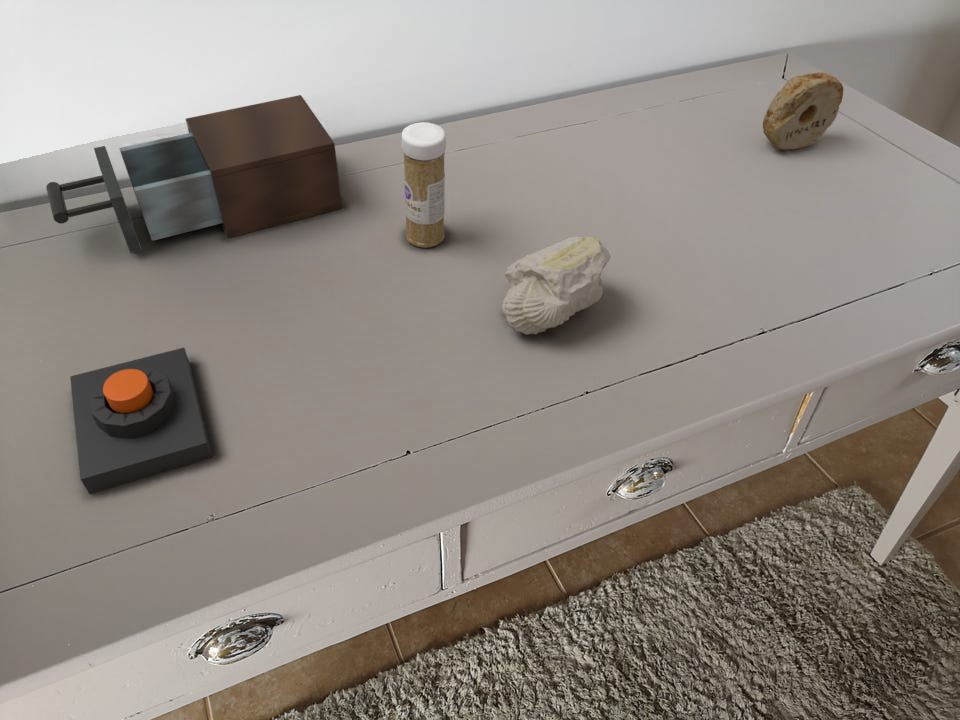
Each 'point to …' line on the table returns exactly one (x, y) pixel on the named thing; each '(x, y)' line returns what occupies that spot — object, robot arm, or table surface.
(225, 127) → the drawer cabinet
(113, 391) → the button
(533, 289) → the fossil replica
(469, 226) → the table surface
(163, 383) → the control block
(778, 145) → the stone disc
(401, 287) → the table surface
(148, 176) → the grey drawer
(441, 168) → the sprinkles bottle
